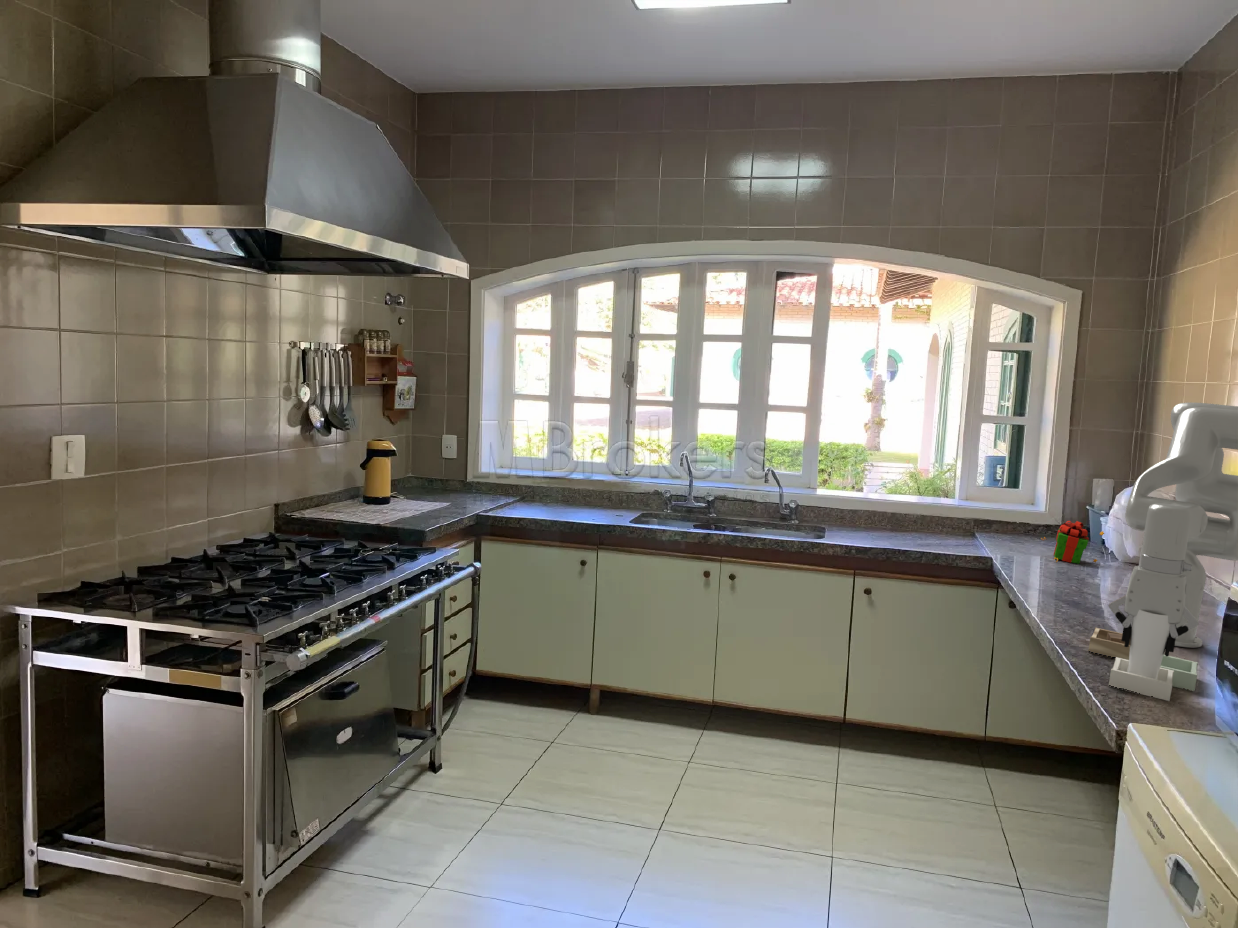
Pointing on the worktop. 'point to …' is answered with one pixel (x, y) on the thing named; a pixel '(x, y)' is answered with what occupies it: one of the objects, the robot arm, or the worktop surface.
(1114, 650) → the beech frame
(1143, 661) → the white cup
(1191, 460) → the robot arm
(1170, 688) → the cream frame
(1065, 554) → the gift wrap
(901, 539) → the worktop surface
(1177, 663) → the sage frame
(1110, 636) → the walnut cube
